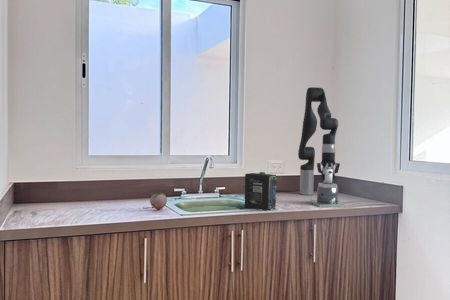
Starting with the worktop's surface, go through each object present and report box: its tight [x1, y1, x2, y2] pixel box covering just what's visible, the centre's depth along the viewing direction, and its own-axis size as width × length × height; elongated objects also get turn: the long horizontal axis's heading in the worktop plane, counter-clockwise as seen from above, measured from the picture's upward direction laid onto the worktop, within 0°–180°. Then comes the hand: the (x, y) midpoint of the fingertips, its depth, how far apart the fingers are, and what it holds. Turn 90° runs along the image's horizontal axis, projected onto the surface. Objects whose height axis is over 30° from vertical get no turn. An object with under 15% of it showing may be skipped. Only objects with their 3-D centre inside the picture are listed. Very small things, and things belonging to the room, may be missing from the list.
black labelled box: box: [242, 171, 278, 211], centre depth 211 cm, size 8×18×20 cm, turn 53°
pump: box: [323, 167, 333, 183], centre depth 225 cm, size 7×5×10 cm
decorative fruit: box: [149, 191, 168, 211], centre depth 202 cm, size 9×8×10 cm
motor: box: [309, 182, 347, 208], centre depth 226 cm, size 16×16×12 cm
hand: (327, 180), depth 226 cm, fingers closed on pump, 5 cm apart
